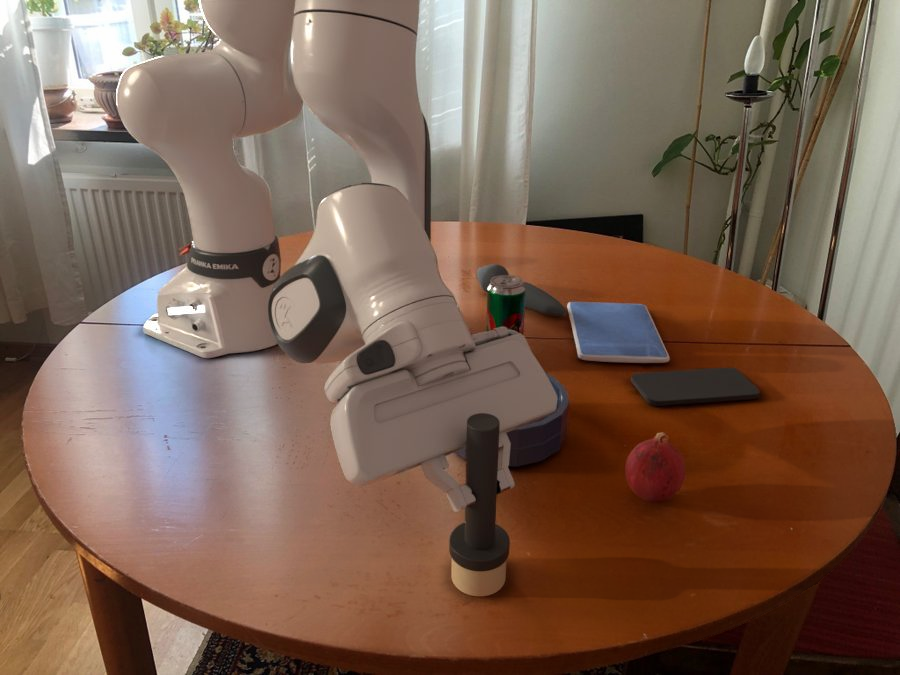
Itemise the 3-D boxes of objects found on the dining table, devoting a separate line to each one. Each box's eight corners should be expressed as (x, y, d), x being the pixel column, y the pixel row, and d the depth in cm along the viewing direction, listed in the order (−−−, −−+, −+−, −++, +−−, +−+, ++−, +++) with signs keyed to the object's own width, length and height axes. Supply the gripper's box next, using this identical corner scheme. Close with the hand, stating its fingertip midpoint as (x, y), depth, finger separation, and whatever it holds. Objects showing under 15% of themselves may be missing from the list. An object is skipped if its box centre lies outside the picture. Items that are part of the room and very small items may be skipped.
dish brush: (439, 587, 64) (439, 430, 57) (462, 549, 69) (465, 399, 62) (495, 606, 63) (502, 446, 55) (515, 565, 67) (525, 412, 60)
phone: (764, 394, 93) (651, 402, 91) (762, 399, 93) (650, 408, 91) (734, 366, 99) (628, 373, 97) (733, 371, 100) (627, 378, 98)
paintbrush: (578, 313, 117) (581, 283, 115) (560, 323, 113) (562, 293, 111) (481, 282, 129) (482, 254, 126) (462, 290, 125) (463, 262, 123)
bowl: (416, 452, 83) (416, 410, 80) (467, 392, 95) (468, 354, 92) (542, 486, 77) (545, 442, 75) (579, 417, 89) (583, 378, 87)
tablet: (566, 307, 119) (566, 299, 118) (645, 309, 118) (646, 301, 118) (578, 364, 102) (578, 355, 101) (670, 367, 101) (672, 358, 100)
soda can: (526, 357, 103) (531, 277, 98) (514, 373, 99) (518, 290, 94) (493, 350, 105) (496, 271, 100) (479, 366, 101) (481, 284, 96)
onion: (669, 526, 72) (681, 458, 68) (613, 506, 74) (621, 439, 71) (686, 494, 76) (698, 429, 73) (632, 476, 79) (641, 412, 75)
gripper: (501, 334, 72) (560, 467, 69) (305, 392, 62) (365, 551, 59) (533, 308, 67) (598, 451, 64) (324, 366, 57) (391, 539, 54)
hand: (485, 499), depth 61 cm, fingers closed on dish brush, 2 cm apart
